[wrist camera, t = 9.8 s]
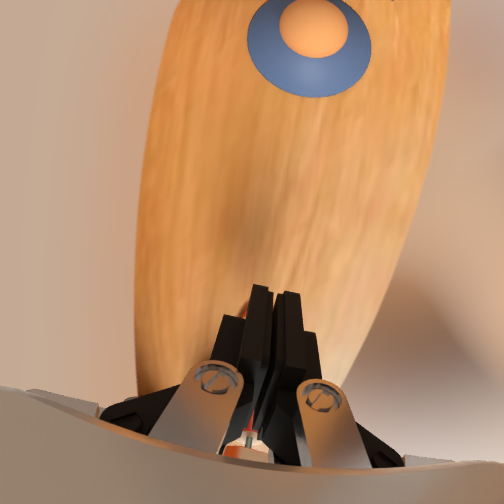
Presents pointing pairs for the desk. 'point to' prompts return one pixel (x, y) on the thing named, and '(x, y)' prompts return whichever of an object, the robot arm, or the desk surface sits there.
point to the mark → (301, 67)
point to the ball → (313, 28)
